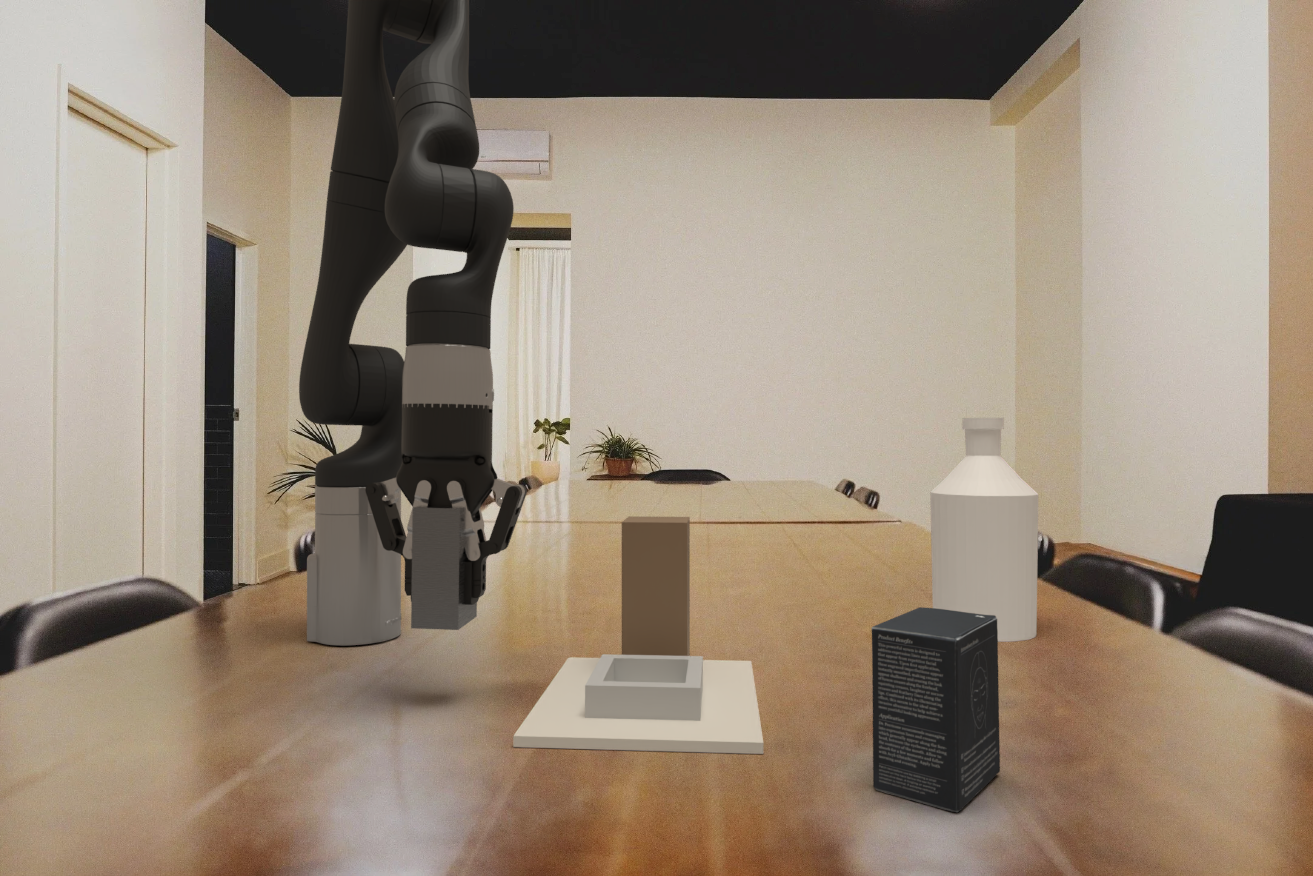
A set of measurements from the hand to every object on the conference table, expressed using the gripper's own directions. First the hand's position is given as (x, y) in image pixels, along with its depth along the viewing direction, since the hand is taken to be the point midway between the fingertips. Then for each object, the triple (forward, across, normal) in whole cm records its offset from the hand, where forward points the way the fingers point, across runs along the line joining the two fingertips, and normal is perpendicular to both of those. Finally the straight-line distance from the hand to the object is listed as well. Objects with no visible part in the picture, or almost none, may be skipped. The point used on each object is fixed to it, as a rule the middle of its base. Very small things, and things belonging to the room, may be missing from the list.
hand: (445, 601), depth 70 cm
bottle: (+8, +54, +31) cm, 63 cm away
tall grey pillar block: (+2, 0, 0) cm, 2 cm away
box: (+8, +38, -14) cm, 41 cm away
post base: (+8, +18, +1) cm, 19 cm away
